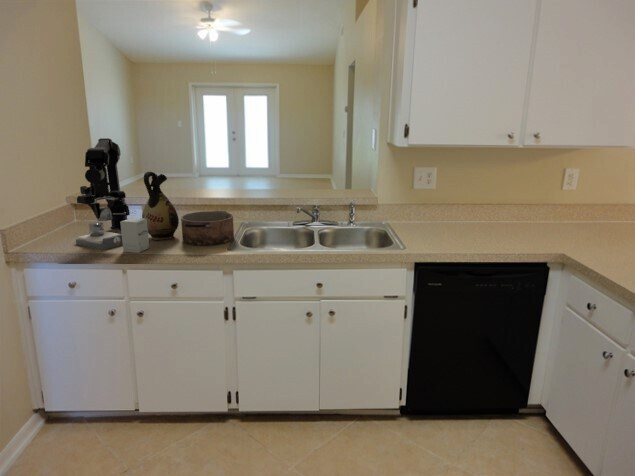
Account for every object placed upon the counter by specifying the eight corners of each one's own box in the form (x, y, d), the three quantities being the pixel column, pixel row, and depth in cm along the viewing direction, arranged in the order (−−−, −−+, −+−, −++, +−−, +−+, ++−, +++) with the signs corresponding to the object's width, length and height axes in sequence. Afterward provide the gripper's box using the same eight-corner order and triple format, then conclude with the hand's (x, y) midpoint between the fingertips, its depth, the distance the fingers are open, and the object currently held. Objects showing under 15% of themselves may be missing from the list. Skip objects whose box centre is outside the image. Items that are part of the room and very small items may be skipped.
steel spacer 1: (96, 232, 184) (95, 221, 183) (107, 234, 183) (106, 222, 182) (86, 235, 179) (85, 224, 178) (97, 237, 178) (96, 225, 177)
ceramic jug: (159, 232, 199) (153, 168, 192) (186, 235, 194) (182, 170, 187) (133, 241, 184) (126, 172, 176) (162, 244, 179) (156, 174, 171)
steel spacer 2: (106, 217, 180) (104, 206, 179) (114, 219, 177) (113, 207, 176) (94, 220, 175) (92, 208, 174) (103, 221, 173) (101, 209, 171)
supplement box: (139, 253, 167) (136, 222, 164) (122, 251, 168) (119, 221, 165) (150, 248, 174) (147, 218, 171) (134, 246, 175) (131, 217, 172)
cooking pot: (218, 250, 172) (217, 225, 170) (168, 247, 176) (166, 222, 173) (243, 232, 201) (243, 210, 198) (200, 230, 205) (199, 208, 202)
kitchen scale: (105, 236, 190) (104, 228, 189) (131, 242, 182) (131, 233, 181) (76, 244, 178) (75, 235, 177) (102, 250, 170) (101, 240, 169)
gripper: (107, 176, 184) (111, 211, 188) (65, 181, 168) (71, 219, 172) (124, 178, 179) (128, 214, 183) (83, 183, 163) (88, 222, 167)
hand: (104, 217), depth 176 cm, fingers closed on steel spacer 2, 5 cm apart
